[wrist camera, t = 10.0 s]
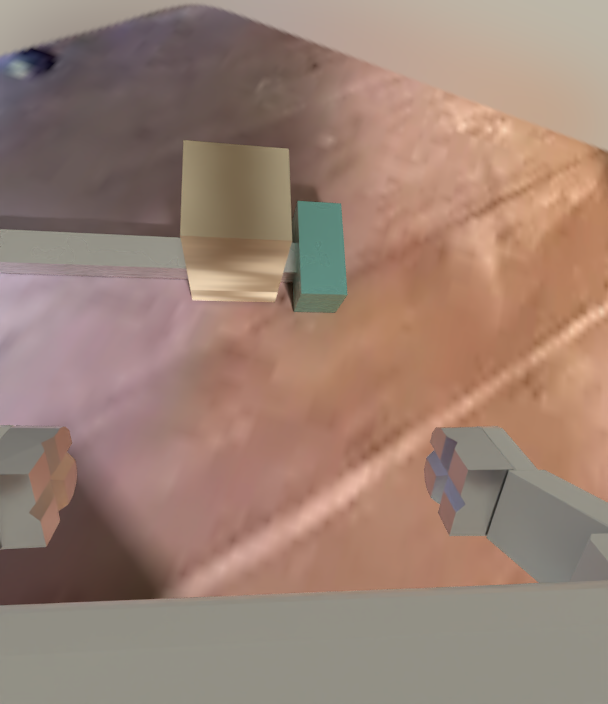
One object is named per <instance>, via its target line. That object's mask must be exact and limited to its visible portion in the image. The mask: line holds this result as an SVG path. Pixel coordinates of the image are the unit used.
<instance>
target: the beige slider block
mask: <svg viewBox="0 0 608 704" xmlns="http://www.w3.org/2000/svg"><path fill="white" fill-rule="evenodd" d="M180 238H181V243H182V248H183V253H184V259H185V264H186V269H187V274H188V279H189V285H190V290H191V295H192V300H205V301H246V302H275V300H276V296H277V293H278V289H279V286H280V282H281V279H282V275H283V272H284V268H285V265H286V261H287V257H288V254H289V250H290V247H291V243H292V221H291V194H290V167H289V149H285V148H273V147H261V146H249V145H237V144H225V143H213V142H201V141H189V140H183V167H182V195H181V224H180Z"/></svg>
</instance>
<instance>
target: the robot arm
mask: <svg viewBox="0 0 608 704" xmlns="http://www.w3.org/2000/svg"><path fill="white" fill-rule="evenodd" d="M430 443H431V445H432V446H433V448H434V451H433V452H432V453H431V454H430V455H429V456H428V457H427V458H426V463H425V468H424V473H425V483H426V487H427V490H428V493H429V495H430V497H431V498H432V499H433V500H435V501H436V502H437V503H439V504H440V507H439V511H438V514H439V516H440V518H441V520H442V522H443V524H444V526H445V528H446V530H447V532H448V534H449V536H487V537H486V538H487V539H489V540H490V541H491V542H492V543H493V544H494V545H496V546H497V547H498V548H499V549H500V550H501V551H503V552H504V553H505V554H506V555H507V556H508V557H510V558H511V559H512V560H513V561H514V562H515V563H517V564H518V565H519V566H520V567H521V568H522V569H524V570H525V571H526V572H527V573H528V574H529V575H531V576H532V577H533V578H534V579H535V580H536V581H538V582H539V583H529V584H507V585H485V586H461V587H436V588H410V589H384V590H359V591H333V592H309V593H285V594H262V595H238V596H214V597H191V598H167V599H143V600H119V601H95V602H71V603H46V604H22V605H0V704H608V503H607V502H605V501H603V500H601V499H599V498H598V497H596V496H594V495H592V494H590V493H588V492H586V491H584V490H582V489H580V488H578V487H576V486H574V485H573V484H571V483H569V482H567V481H565V480H563V479H561V478H559V477H557V476H555V475H553V474H551V473H550V472H548V471H546V470H538V469H537V468H536V467H535V466H534V465H533V463H532V462H531V461H530V460H529V459H528V458H527V456H526V455H525V454H524V453H523V452H522V451H521V449H520V448H519V447H518V446H517V445H516V444H515V442H514V441H513V440H512V439H511V438H510V437H509V435H508V434H507V433H506V432H505V431H504V430H503V429H502V428H500V427H498V426H479V427H442V428H435V429H434V431H433V433H432V437H431V441H430ZM71 444H72V440H71V436H70V432H69V430H68V429H67V428H66V427H65V426H20V425H16V426H13V425H0V549H16V548H34V547H47V545H48V543H49V541H50V539H51V537H52V535H53V533H54V532H55V530H56V528H57V526H58V524H59V522H60V517H59V512H58V511H59V510H61V509H62V508H64V507H65V506H67V505H68V504H69V502H70V500H71V498H72V496H73V494H74V491H75V486H76V482H77V467H76V461H75V459H74V458H73V457H72V456H70V455H69V454H68V453H67V451H68V449H69V447H70V446H71Z"/></svg>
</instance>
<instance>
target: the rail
mask: <svg viewBox="0 0 608 704" xmlns="http://www.w3.org/2000/svg"><path fill="white" fill-rule="evenodd" d="M0 273H9V274H40V275H72V276H103V277H135V278H166V279H188V274H187V269H186V264H185V259H184V253H183V248H182V243H181V238H178V237H156V236H135V235H114V234H93V233H72V232H50V231H29V230H8V229H0ZM281 282H292V283H293V304H294V312H328V313H335V312H336V311H337V309H338V308H339V306H340V305H341V304H342V302H343V301H344V299H345V298H346V296H347V282H346V268H345V253H344V239H343V225H342V210H341V204H339V203H323V202H307V201H297V205H296V209H295V213H294V216H293V220H292V243H291V247H290V250H289V254H288V257H287V261H286V265H285V268H284V272H283V275H282V279H281Z"/></svg>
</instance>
